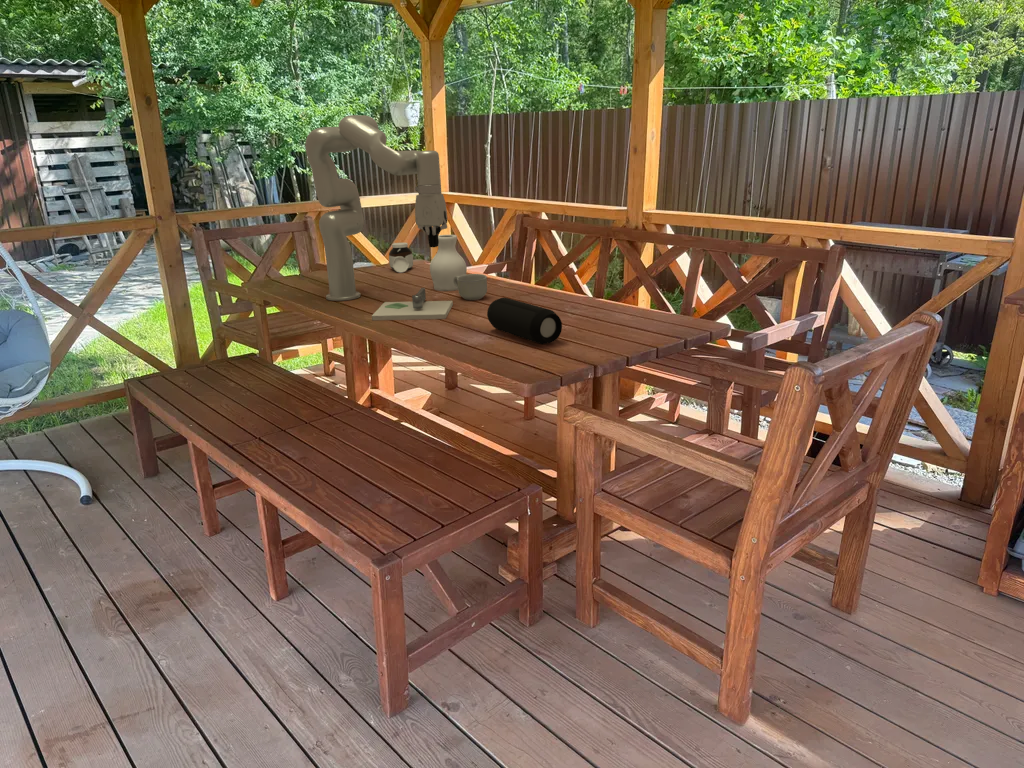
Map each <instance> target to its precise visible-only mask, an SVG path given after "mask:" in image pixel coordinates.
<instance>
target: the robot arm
mask: <svg viewBox="0 0 1024 768" xmlns="http://www.w3.org/2000/svg"><path fill="white" fill-rule="evenodd" d="M304 148H305V153H306V157H307V159H308V162H309V165H310V169H311V173H312V178H313V183H314V187H315V193H316V196H317V200H318V202H319V204H320V205H321V206H322V207H324V208H335V207H339V208H340V209H337V210H332V211H328V212H325V213H323V214H322V215H321V216H320V218H319V221H318V226H319V227H318V228H319V232H320V234H321V237H322V241H323V247H324V256H325V262H326V264H325V265H326V270H327V271H326V272H327V281H328V288H329V293H328V294H327V293H326V295H325V298H326V300H328V301H332V302H333V301H335V302H339V301H341V302H342V301H350V300H356V299H358V298H360V297H362V296H361V293H360V292H359V291H357V290H356V289H357V288H356V279H355V271H354V262H353V261H354V260H353V253H352V252H353V251H352V247H351V244H350V242H349V241H348V239H347V237H349V236H355V235H358V234H359V233H361V232H362V231H363V229H364V226H365V225H364V224H365V219H364V213H363V208H362V203H361V198H360V193H359V190H358V187H357V185H356V184H355V183H354V182H353V181H352V180H351V179H349V178H344V177H342V178H339V175H338V171H337V167H336V163H335V162H334V161H333V158H332V157H331V156H330V155H329V154H331V153H348V152H352V151H353V150H354V151H355V150H356V149H361V151H364V152H366V153H367V154H368V155H369V156H370V158H371V160H372V161H373V163H374V165H376V166H377V167H378V168H381V169H382V170H384V171H385V172H387V173H388V174H390V175H392V176H393V175H394V176H407V175H408V176H409V175H416V179H417V186H415V188H414V190H415V191H416V192H417V193H418V194H416V195H415V203H414V204H415V205H414V206H415V207H414V217H415V224H416V225H417V228H418V229H419V230H422V231H424V232H425V234H426V235H427V239H428V245H429V248H438V244H439V239H438V236H439V234H440V233H441V231H443V230H446V229H448V224H447V223H448V211H447V210H448V209H447V204H446V200H445V196H444V193H442V183H441V182H442V181H441V180H442V179H441V167H440V166H441V165H440V154H439V152H438V151H437V150H412V149H411V150H395V149H393V148H391V147H390V146H388V145H387V135H386V134H385V133H384V131H382V130H381V129H379V125H378V123H377V121H376V120H375V119H374V118H373V117H371V116H369V115H367V114H364V115H362V114H361V115H359V114H358V115H357V114H352V115H347V116H344V117H343V118H341V119H340V121H339V123H338V126H335V127H334V126H324V127H323V126H322V127H317V128H315V129H312V130H311V131H310V132H309V133H308V135H307V136H306V139H305V147H304Z"/></svg>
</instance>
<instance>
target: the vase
mask: <svg viewBox="0 0 1024 768" xmlns="http://www.w3.org/2000/svg"><path fill="white" fill-rule="evenodd" d="M438 239H439V244H438V246H437V252H436V253H435V255H434V257H433V258H432V259H431V261H430V263H429V273H430V276H431V281H432V284H433V289H434V290H435V291H439V292H451V291H452V292H454V291H458V288H457V287H456V286H455V284H454V277H455V276H462V275H467V267H468V266H467V263H466V261H465V259H464V258H463V256H461V255H460V253H459V252H458V250H457V248H456V244H457V240H458V235H457V234H440V235H439V234H438Z"/></svg>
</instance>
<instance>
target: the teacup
mask: <svg viewBox="0 0 1024 768" xmlns="http://www.w3.org/2000/svg"><path fill="white" fill-rule="evenodd" d="M487 279H488V275H486V274H482V273H470V274H469V273H468V274H467V273H466V275H462V276H455V277H454V284H455V286H456V287H457V288H458V290H457V291H458V294H459V296H460V297H461V298H463V299H464V300H465V301H477V300H481V299H482V298H484V296H485V295H486V294H487V292H488V280H487Z"/></svg>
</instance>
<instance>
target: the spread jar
mask: <svg viewBox="0 0 1024 768" xmlns="http://www.w3.org/2000/svg"><path fill="white" fill-rule="evenodd" d="M408 245H409V243H408V242H394V243H392V244H391V247H392V248H391V249H390V251H389V252H388V262H389V267H390V268H391V270H393V271H394V272H397V273H400V274H401V273H402V274H403V273H405V272H408V271H410V270H411V269H412V268H413V266H414V257H413V251H412V250H411V249H410V247H409V246H408Z"/></svg>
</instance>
